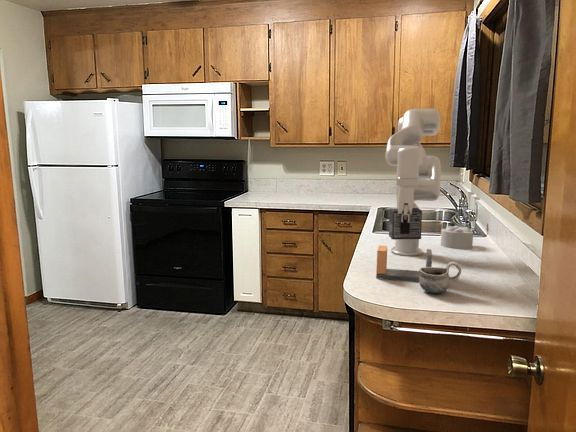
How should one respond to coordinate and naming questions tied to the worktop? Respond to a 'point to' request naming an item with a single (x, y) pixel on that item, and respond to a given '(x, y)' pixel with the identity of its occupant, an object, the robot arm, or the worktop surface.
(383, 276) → the grey bent bar
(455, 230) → the beige piece
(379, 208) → the worktop surface
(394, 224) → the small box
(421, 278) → the mug
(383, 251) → the vise slide jaw
